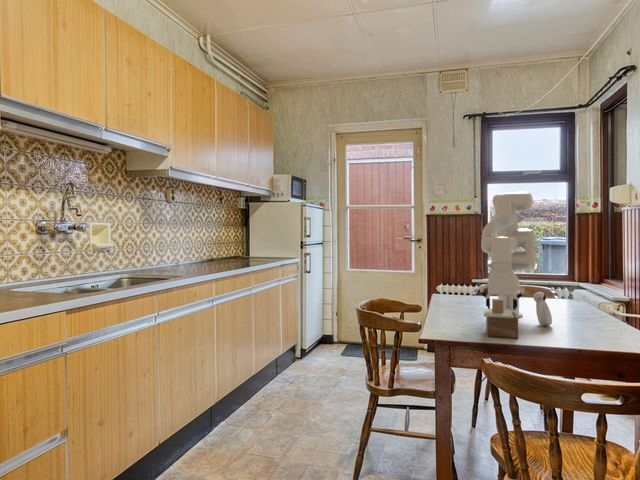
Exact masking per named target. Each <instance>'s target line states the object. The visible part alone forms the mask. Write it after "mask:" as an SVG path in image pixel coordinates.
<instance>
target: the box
mask: <svg viewBox="0 0 640 480" xmlns="http://www.w3.org/2000/svg"><path fill="white" fill-rule="evenodd" d="M512 313H513V315H514V318H502V317H486V318H485V319H486V322H485V323H486V324H485V325H486V335H487V337H488V338H495V339H496V338H497V339H509V340H511V339H512V340H519V317H517V316H516V314H515V312H512Z"/></svg>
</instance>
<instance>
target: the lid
mask: <svg viewBox="0 0 640 480" xmlns="http://www.w3.org/2000/svg"><path fill="white" fill-rule="evenodd" d="M491 300H492V301H491V306H492V308H489V309H488V307H486V308H485V307H483V308H482V310H483V317H502V318H514V315H513V313H512V311H511V310H510V309H503V299H498V298H492V299H491Z"/></svg>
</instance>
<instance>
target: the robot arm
mask: <svg viewBox="0 0 640 480" xmlns="http://www.w3.org/2000/svg"><path fill="white" fill-rule="evenodd" d="M533 203H534V202H533V196H532V193H531V192H529V191H518V192H517V191H516V192H514V191H513V192H504V193H497V194H495V195H493V197H492V205H493V209H494V211H495V212H494V218H492V219H491V220H490V221H489V222H487V224H486V225H485V226H484V227H483V230H482V235H481V239H480V240H481V241H480V242H481V243H480V247H481V250H482V252H484V253H486V254H490V255H491V260H490V261H491V262H490V263H487V267H488V268H490V270H489V273H488V279H487V281H488V282H487V283H486V284H484V285H481V286H480V287H478V290H479V292H480V294H481V295H482V296H483V297H484V299H485V306H486V307H487V308H488V309H491V298H490V297H491V296H497V299H503V309H510V310H511V311H512V312H515V314H516V316H517V317H518V318H521V317H523V313H522V312H520V298H521V297H522V296H523V295H524V293H525V292H526V290H525V288H523V287H521V286H520V279H519V277H518V276H517V274H515V272H517V271H518V272H532V271H534V269H535V268H536V264H537V263H536V259H537V258H536V256H537V255H536V234H535V232H534V231H533V229H529V228H519V218H518V217H517V215H516V212H519V211H520V212H525V211H530V210H531V208H532V206H533ZM497 232H499V233H498V235H493V234H495V233H497ZM519 249H523V250H524V251H523V250H522V251H521V250H520V251H518V250H519ZM486 288H487V291H488V293H486V292H484V290H485V289H486Z"/></svg>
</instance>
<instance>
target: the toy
mask: <svg viewBox="0 0 640 480" xmlns="http://www.w3.org/2000/svg"><path fill="white" fill-rule="evenodd" d="M546 299H547V297H546V294H545V293H544V292H543V291H537V292H535V293H534V294H533V300H534V302H535V303H536V304H535V309H536V310H535V311H536V317H537V321H538V323H539V325H540V326H543V327H548V326H551V325H552V323H553V316H552V312H551V310H550V308H549V305H548V304H547V302H546Z"/></svg>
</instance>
